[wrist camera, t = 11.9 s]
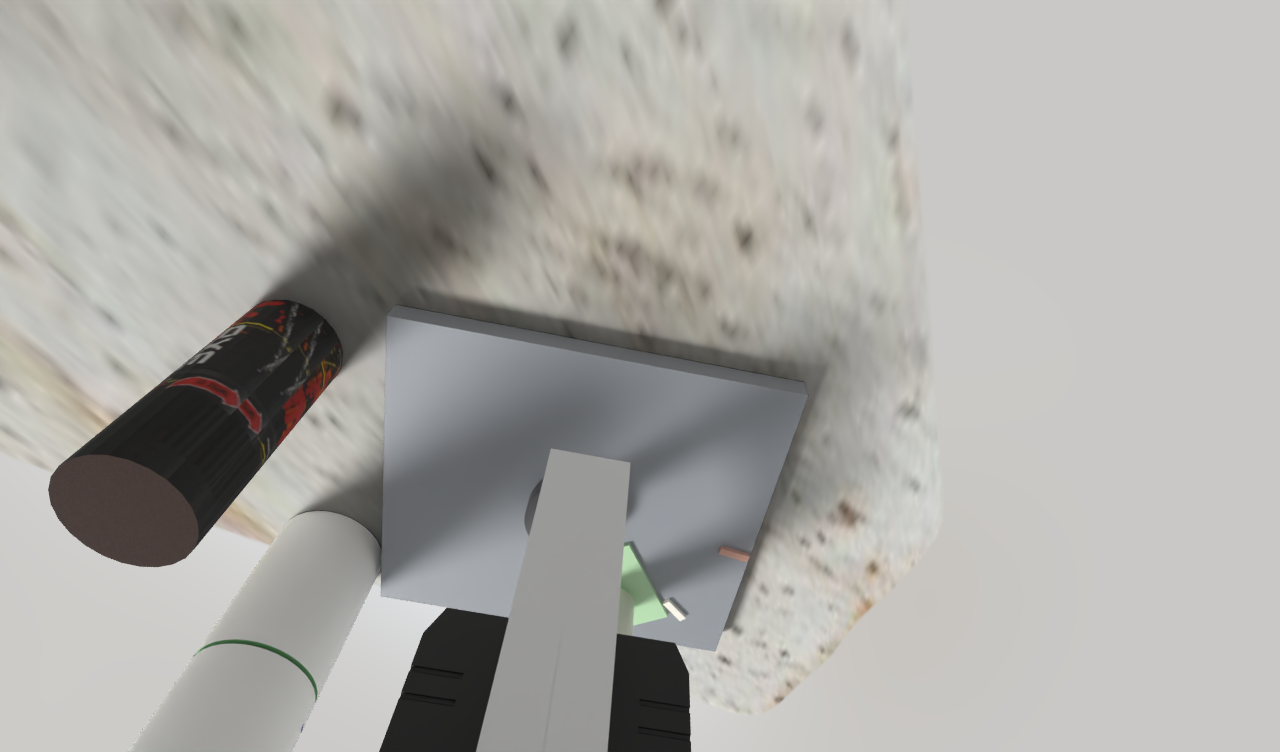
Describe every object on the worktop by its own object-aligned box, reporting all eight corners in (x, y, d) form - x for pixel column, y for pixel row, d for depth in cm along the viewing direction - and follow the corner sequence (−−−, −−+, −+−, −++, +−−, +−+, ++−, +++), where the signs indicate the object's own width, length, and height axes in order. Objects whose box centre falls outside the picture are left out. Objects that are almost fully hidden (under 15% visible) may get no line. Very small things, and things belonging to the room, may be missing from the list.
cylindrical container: (268, 563, 51) (-28, 1000, 30) (295, 495, 48) (-14, 929, 26) (364, 600, 53) (149, 1043, 31) (396, 537, 50) (183, 980, 28)
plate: (388, 580, 52) (379, 599, 50) (395, 304, 41) (384, 318, 39) (714, 634, 53) (715, 655, 52) (804, 382, 42) (809, 398, 41)
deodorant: (284, 280, 41) (100, 429, 27) (363, 356, 43) (228, 526, 30) (220, 336, 42) (20, 500, 29) (299, 406, 45) (145, 587, 32)
